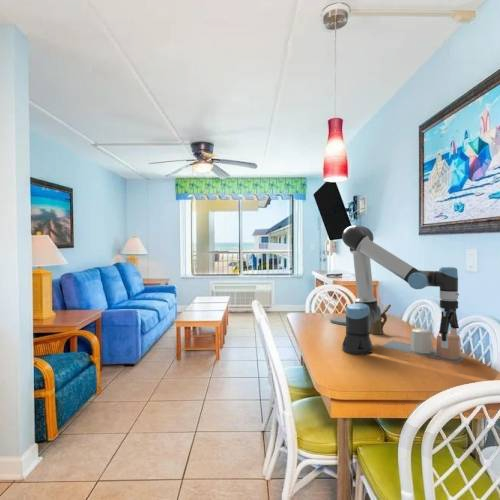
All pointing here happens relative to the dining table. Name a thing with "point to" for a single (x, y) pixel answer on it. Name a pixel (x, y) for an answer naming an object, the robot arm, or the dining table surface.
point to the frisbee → (339, 320)
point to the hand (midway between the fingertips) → (449, 344)
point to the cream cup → (421, 340)
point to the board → (407, 348)
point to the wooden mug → (379, 323)
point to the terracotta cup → (449, 347)
